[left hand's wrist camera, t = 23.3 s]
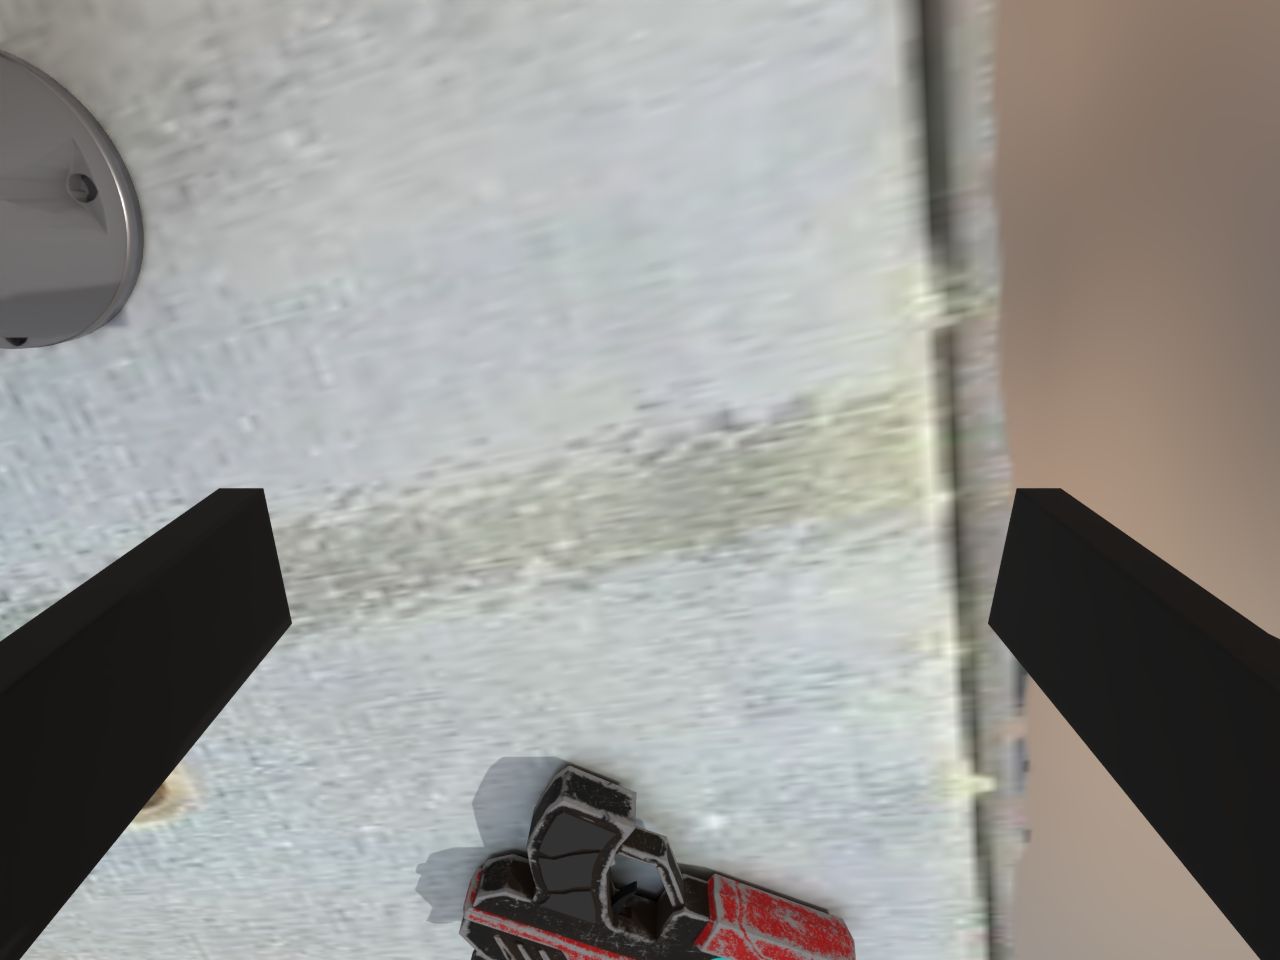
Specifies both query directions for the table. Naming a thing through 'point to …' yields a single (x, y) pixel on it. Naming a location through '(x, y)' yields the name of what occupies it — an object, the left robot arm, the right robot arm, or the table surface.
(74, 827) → the left robot arm
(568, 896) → the gun
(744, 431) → the table surface
